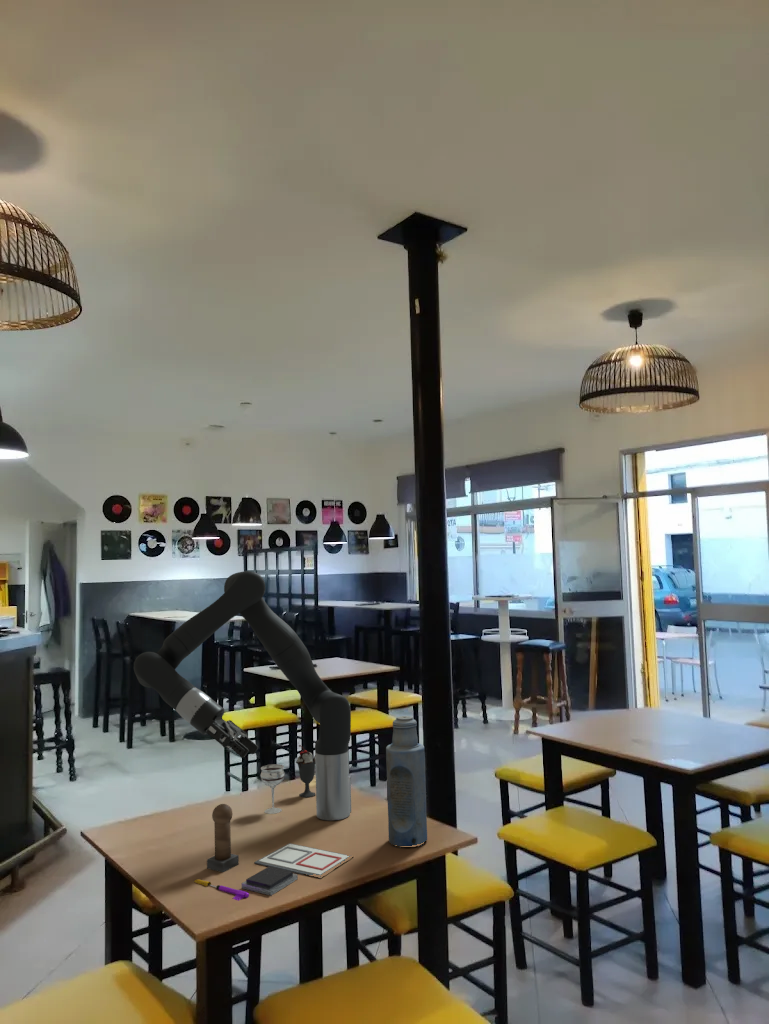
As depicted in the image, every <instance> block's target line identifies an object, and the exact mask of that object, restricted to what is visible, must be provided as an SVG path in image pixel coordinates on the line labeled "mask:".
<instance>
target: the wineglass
mask: <svg viewBox="0 0 769 1024" xmlns="http://www.w3.org/2000/svg"><path fill="white" fill-rule="evenodd" d="M284 768H285V766H284V765H283V764H280V763H279V764H278V763H277V764H274V763H273V764H267V765H262V766H261V767H260V770H261V773H260V779H261V782H262V783H263V784H264V785H266V786H268V787H269V788H270V789H271V804H272V805H271V806H272V807H270V808H267V809H265V810H264V813H265V814H271V815H273V814H279V813H281V812H282V811H283V809H282V808H280V807H275V788H276V786H279V785H280V784H281V783H282V782H283V780H284V779H285V775H286V774H285V771H284Z"/></svg>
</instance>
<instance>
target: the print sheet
mask: <svg viewBox="0 0 769 1024" xmlns="http://www.w3.org/2000/svg"><path fill="white" fill-rule="evenodd" d="M347 855H349V854H345V853H340V852H335V851H329V850H324V849H321V848H314V847H310V846H305V845H300V844H296V843H291V842H289V843H287V844H285V845H284V846H281V847H280V848H278V849H276V850H274V851H272V852H270V853H267V855H265V856H262V857H261V858H260V859H257V860H256V861H254V864H255V865H259V866H264V867H269V866H270V867H274V868H279V869H283V870H288V871H292V872H293V874H297V875H298V874H299V875H303V874H307V875H313V874H316V875H322V874H323V873H325V872H326V871H328V870H330V869H331V868H333V867H334V866H336V865H337V864H339V863H340V864H341V862H342V861H345V859H347V858H348V857H350V856H351V855H349V856H347ZM307 875H306V876H307ZM320 877H321V876H320Z"/></svg>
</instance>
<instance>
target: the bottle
mask: <svg viewBox="0 0 769 1024" xmlns="http://www.w3.org/2000/svg"><path fill="white" fill-rule="evenodd" d="M417 726H418V725H417V720H416V719H414V716H410V715H400V716H396V718H395V720H393V722H392V730H393V731H392V739H391V743H390V744H388V745H387V746H386V747H385V755H386V756H385V759H386V760H385V761H386V788H387V789H386V792H387V797H386V798H387V816H388V817H387V819H388V820H387V821H388V826H387V828H388V842H389V843H391V844H390V845H392V844H393V845H397V846H412V845H417V844H421V843H423V842H425V841H426V840H427V841H428V821H427V820H428V819H427V818H428V817H427V794H426V793H427V792H426V791H427V790H426V757H425V756H426V755H425V754H426V753H425V746H424V744H421V743H419V740H418V739H419V737H418V734H417V733H418V732H417ZM393 845H392V846H393Z"/></svg>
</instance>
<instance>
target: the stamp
mask: <svg viewBox="0 0 769 1024" xmlns="http://www.w3.org/2000/svg"><path fill="white" fill-rule="evenodd" d="M211 816H212V817H211V819H212V821H213V822H214V855H213V856H210V857H209V858H206V859H207V860H206V868H207V869H208V870H212V871H215V872H220V873H225V872H227V871H229V870H231V869H233V868H235V867H237V866H238V865H239V862H240V861H239V854H234V853H232V849H231V848H232V847H231V845H232V844H231V841H232V838H231V820H232V818H233V809H232V807H230V806H229V804H226V803H220V804H218V805H216V806H215V807H214V809H213V810H212V814H211Z"/></svg>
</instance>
